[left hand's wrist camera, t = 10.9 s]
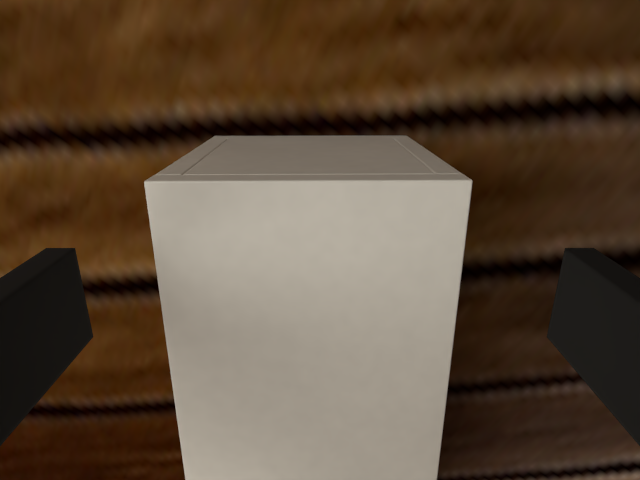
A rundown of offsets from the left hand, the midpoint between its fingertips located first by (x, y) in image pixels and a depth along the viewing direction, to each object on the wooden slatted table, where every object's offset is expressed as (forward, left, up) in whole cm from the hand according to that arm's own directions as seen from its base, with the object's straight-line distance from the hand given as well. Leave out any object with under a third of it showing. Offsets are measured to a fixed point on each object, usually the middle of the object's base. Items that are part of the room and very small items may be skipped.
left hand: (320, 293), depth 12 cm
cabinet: (+1, +6, -13) cm, 14 cm away
